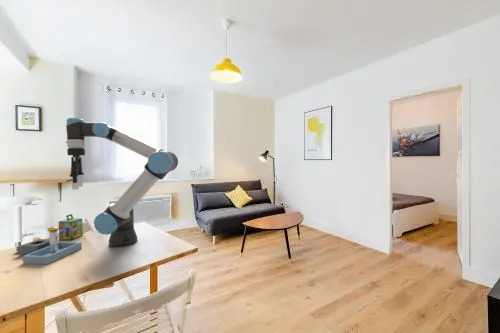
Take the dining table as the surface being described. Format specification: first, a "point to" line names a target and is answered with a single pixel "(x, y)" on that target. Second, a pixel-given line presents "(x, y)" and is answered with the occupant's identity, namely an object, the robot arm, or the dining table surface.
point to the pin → (53, 239)
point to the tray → (45, 257)
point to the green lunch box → (70, 228)
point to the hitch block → (33, 246)
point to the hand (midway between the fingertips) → (77, 188)
